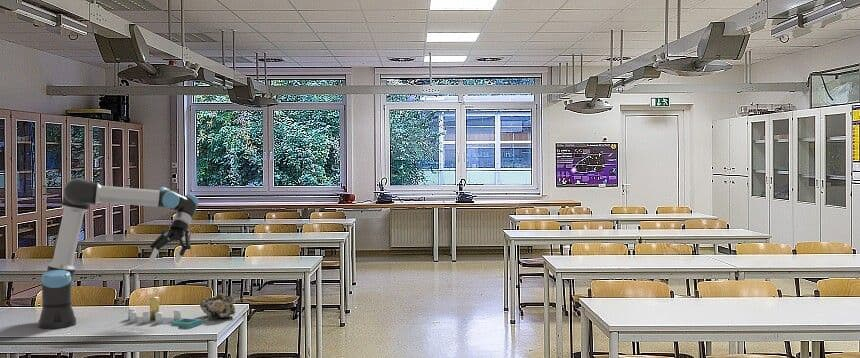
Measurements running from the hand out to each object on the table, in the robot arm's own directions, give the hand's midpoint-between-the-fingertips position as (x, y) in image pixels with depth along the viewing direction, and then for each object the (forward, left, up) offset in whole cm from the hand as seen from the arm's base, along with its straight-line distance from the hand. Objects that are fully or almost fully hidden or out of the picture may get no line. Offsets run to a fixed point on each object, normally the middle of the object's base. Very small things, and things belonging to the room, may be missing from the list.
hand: (163, 261), depth 377 cm
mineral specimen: (+22, +9, -26) cm, 35 cm away
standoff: (0, -7, -25) cm, 26 cm away
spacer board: (0, -9, -26) cm, 27 cm away
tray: (+19, -10, -26) cm, 34 cm away
